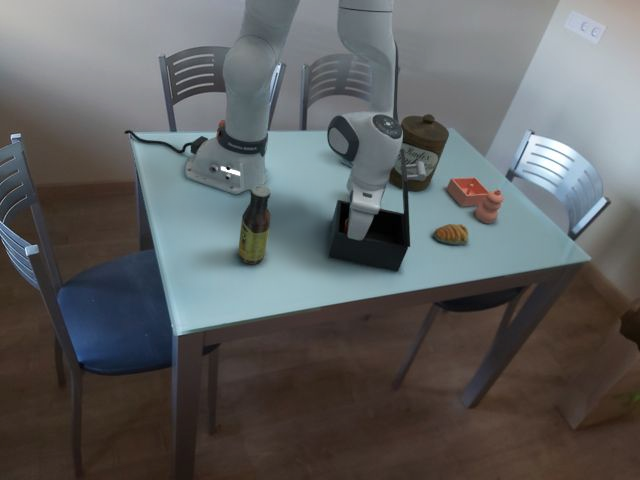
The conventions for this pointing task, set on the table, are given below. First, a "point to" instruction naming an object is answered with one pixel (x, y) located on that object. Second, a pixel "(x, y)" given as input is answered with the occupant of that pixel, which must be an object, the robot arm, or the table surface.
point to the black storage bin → (370, 239)
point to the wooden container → (420, 149)
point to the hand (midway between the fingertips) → (350, 228)
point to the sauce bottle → (255, 226)
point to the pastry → (452, 234)
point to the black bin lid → (420, 175)
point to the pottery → (476, 197)
